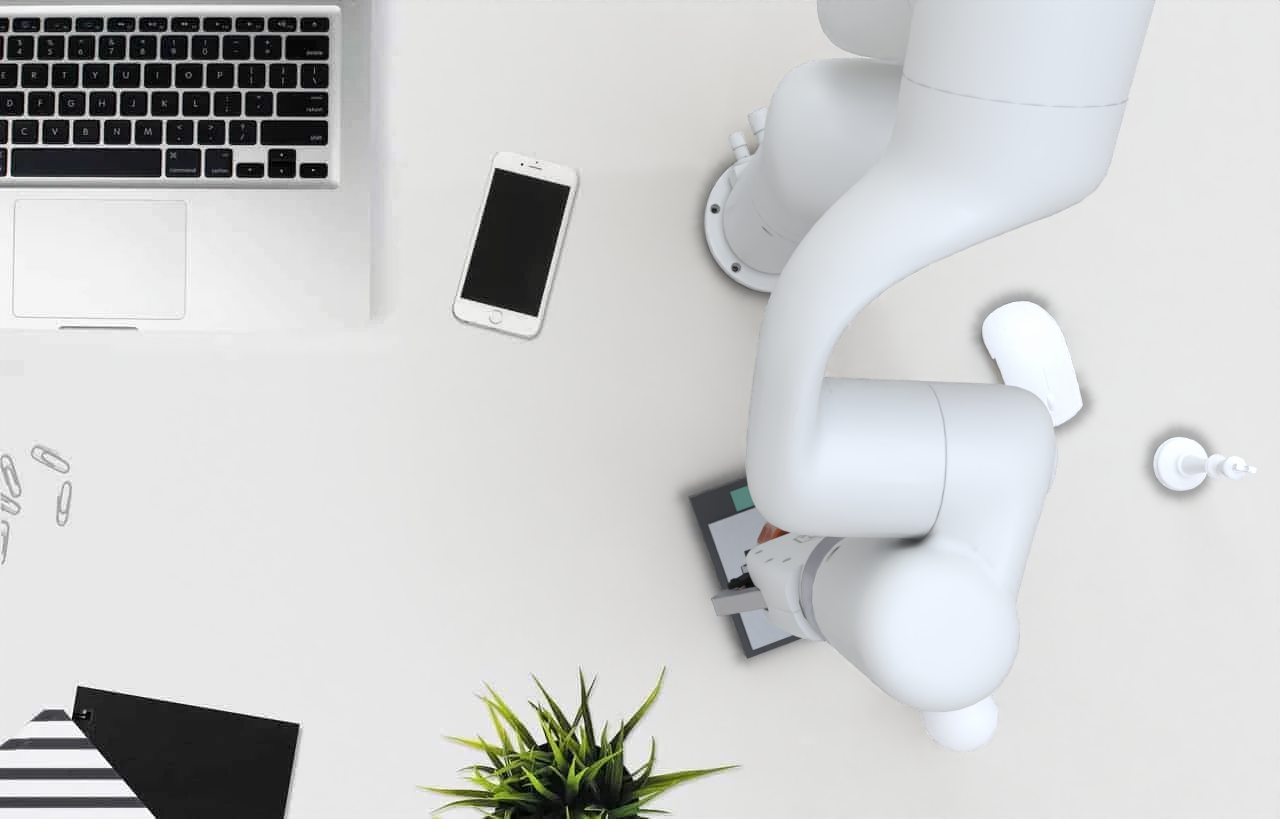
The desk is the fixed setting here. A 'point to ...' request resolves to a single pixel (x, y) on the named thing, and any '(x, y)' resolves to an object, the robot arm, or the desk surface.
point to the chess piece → (1193, 464)
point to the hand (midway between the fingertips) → (802, 552)
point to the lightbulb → (963, 726)
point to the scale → (736, 555)
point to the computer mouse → (1034, 356)
